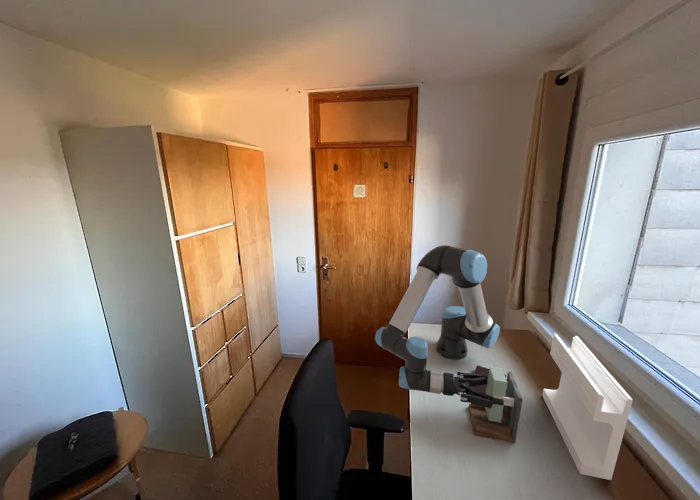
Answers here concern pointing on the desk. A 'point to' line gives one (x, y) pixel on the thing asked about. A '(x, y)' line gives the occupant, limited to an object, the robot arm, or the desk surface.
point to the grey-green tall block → (496, 392)
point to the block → (588, 408)
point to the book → (484, 371)
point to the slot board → (509, 417)
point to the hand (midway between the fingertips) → (510, 393)
